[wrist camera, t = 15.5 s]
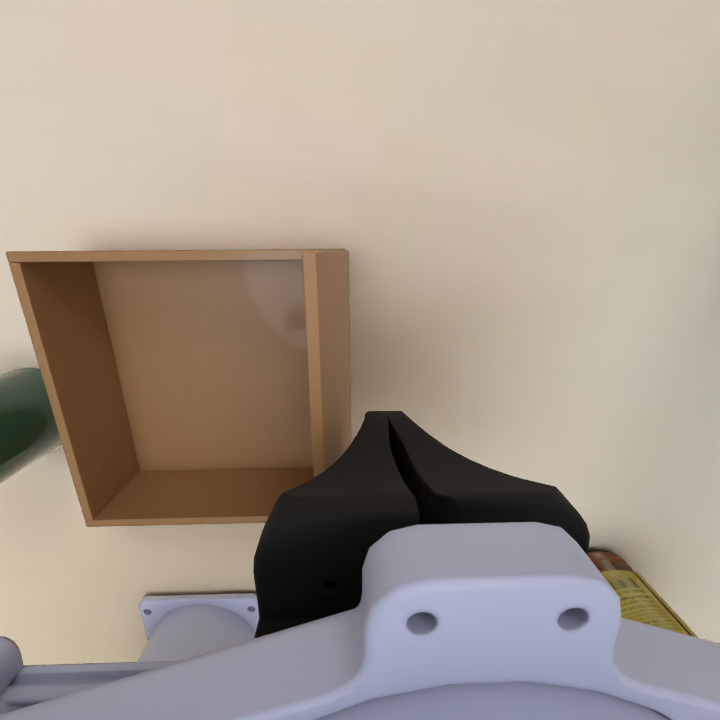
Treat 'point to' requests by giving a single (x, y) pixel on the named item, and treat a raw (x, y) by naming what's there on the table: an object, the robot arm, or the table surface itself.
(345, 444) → the flap
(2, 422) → the bottle
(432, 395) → the table surface
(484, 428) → the table surface
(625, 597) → the sauce bottle
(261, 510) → the carton
